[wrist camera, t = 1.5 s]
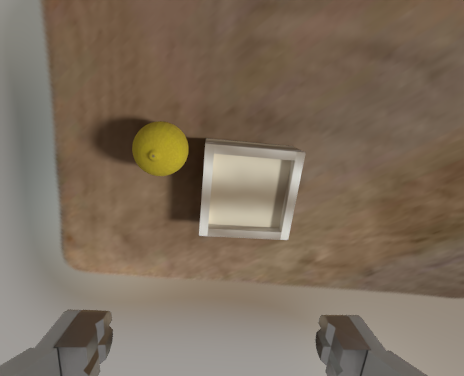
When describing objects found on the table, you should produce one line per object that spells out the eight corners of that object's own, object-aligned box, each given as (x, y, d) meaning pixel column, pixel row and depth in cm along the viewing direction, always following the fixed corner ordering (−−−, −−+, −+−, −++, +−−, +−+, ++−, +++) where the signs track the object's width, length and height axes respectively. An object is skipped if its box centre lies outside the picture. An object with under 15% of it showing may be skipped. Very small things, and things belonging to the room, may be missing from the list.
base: (205, 138, 29) (205, 143, 25) (293, 146, 31) (305, 152, 27) (200, 219, 33) (198, 235, 29) (278, 224, 34) (288, 239, 30)
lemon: (199, 152, 30) (195, 168, 22) (160, 173, 30) (144, 195, 23) (175, 110, 28) (163, 112, 20) (134, 133, 28) (107, 143, 21)
